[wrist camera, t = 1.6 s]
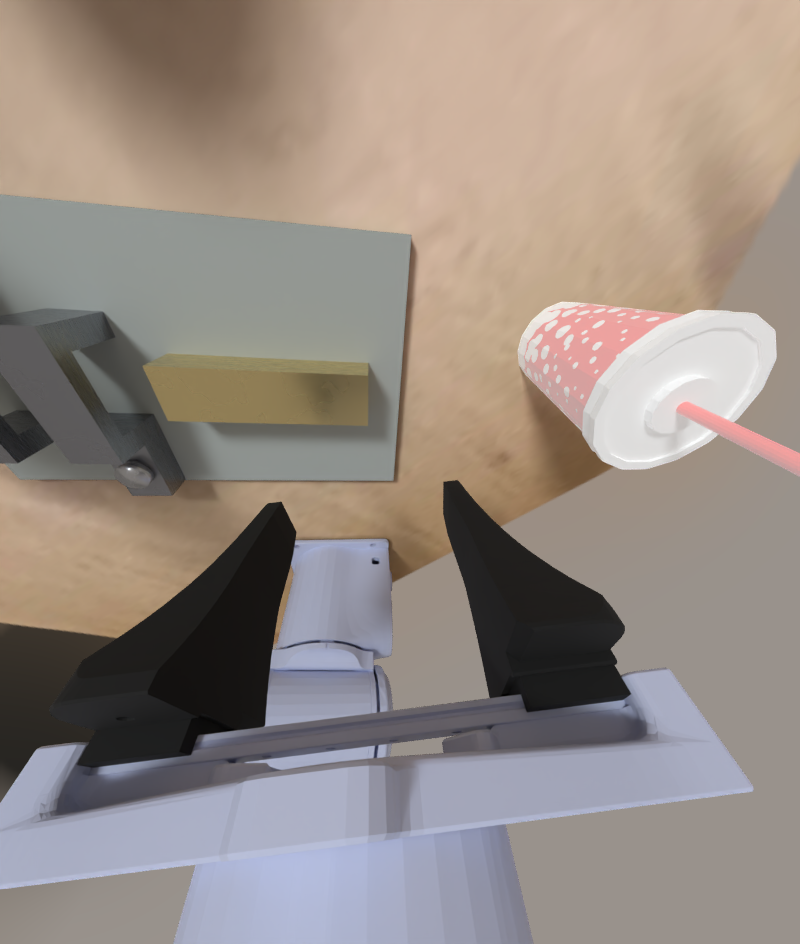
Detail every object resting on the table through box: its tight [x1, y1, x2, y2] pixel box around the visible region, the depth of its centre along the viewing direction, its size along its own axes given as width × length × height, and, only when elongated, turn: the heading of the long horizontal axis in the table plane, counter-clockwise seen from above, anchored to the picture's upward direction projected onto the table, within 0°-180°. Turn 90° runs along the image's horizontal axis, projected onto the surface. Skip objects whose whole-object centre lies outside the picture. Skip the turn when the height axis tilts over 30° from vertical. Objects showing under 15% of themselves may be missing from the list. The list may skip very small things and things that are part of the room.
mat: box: [0, 195, 411, 481], centre depth 17 cm, size 26×15×1 cm, turn 86°
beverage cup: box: [518, 302, 800, 477], centre depth 12 cm, size 6×6×14 cm
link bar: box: [142, 353, 368, 426], centre depth 16 cm, size 11×3×2 cm, turn 86°
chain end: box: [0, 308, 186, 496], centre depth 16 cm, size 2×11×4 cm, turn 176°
